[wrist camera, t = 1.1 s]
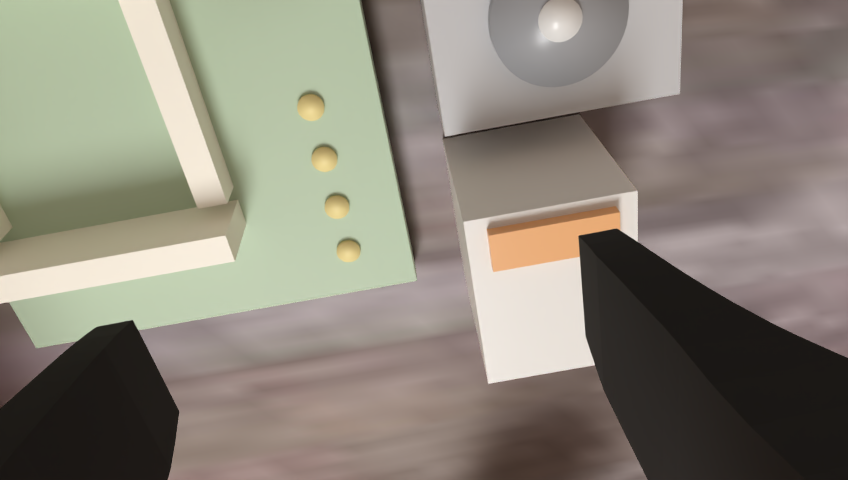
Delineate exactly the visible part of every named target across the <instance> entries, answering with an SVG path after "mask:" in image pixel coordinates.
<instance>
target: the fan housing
mask: <svg viewBox="0 0 848 480" xmlns="http://www.w3.org/2000/svg"><path fill="white" fill-rule="evenodd" d="M420 2H421V9H422V15H423V21H424V27H425V33H426V40H427V46H428V52H429V58H430V64H431V71H432V77H433V83H434V89H435V95H436V101H437V107H438V111H439V115H440V119H441V123H442V127H443V130H444V134H445V137H446V136H451V135H457V134H462V133H468V132H473V131H479V130H484V129H489V128H495V127H500V126H506V125H511V124H517V123H522V122H528V121H533V120H539V119H544V118H550V117H555V116H561V115H566V114H572V113H577V112H583V111H588V110H594V109H599V108H605V107H610V106H616V105H621V104H627V103H632V102H638V101H643V100H649V99H654V98H660V97H665V96H671V95H676V94H680V70H681V38H682V5H683V0H420Z"/></svg>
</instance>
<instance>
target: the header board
mask: <svg viewBox="0 0 848 480" xmlns="http://www.w3.org/2000/svg"><path fill="white" fill-rule="evenodd" d="M413 281H417V277H416V268H415V261H414V256H413V251H412V246H411V241H410V237H409V232H408V227H407V222H406V217H405V212H404V207H403V202H402V197H401V193H400V188H399V183H398V178H397V173H396V168H395V163H394V158H393V153H392V149H391V144H390V139H389V134H388V129H387V124H386V119H385V114H384V110H383V105H382V100H381V95H380V90H379V85H378V80H377V75H376V70H375V66H374V61H373V56H372V51H371V46H370V41H369V36H368V31H367V26H366V22H365V17H364V12H363V7H362V2H361V0H0V304H1V303H6V302H9V303H10V305H11V306H12V308H13V310H14V311H15V313H16V315H17V317H18V318H19V320H20V322H21V323H22V325H23V327H24V328H25V330H26V332H27V333H28V335H29V337H30V338H31V340H32V342H33V344H34V345H35V347H36V348H41V347H47V346H52V345H58V344H64V343H69V342H75V341H78V340H79V339H81V338H82V337H83V336H84V335H86V334H87V333H89V332H90V331H91V330H93V329H94V328H95V327H98V326H103V325H109V324H114V323H119V322H124V321H130V320H133V321H134V323H135V325H136V327H137V329H138V330H142V329H148V328H154V327H159V326H165V325H171V324H176V323H182V322H187V321H193V320H199V319H204V318H210V317H216V316H221V315H227V314H232V313H238V312H244V311H249V310H255V309H261V308H266V307H272V306H277V305H283V304H289V303H294V302H300V301H306V300H311V299H317V298H322V297H328V296H334V295H339V294H345V293H351V292H356V291H362V290H368V289H373V288H379V287H384V286H390V285H396V284H401V283H407V282H413Z"/></svg>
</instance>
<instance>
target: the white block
mask: <svg viewBox="0 0 848 480" xmlns="http://www.w3.org/2000/svg"><path fill="white" fill-rule="evenodd" d="M443 145H444V151H445V158H446V164H447V170H448V176H449V182H450V189H451V195H452V201H453V207H454V213H455V220H456V226H457V232H458V238H459V244H460V250H461V257H462V263H463V269H464V275H465V281H466V285H467V290H468V294H469V299H470V303H471V308H472V312H473V317H474V321H475V326H476V330H477V335H478V339H479V344H480V348H481V353H482V357H483V362H484V366H485V371H486V375H487V380H488V384H489V383H495V382H501V381H507V380H512V379H518V378H524V377H530V376H535V375H541V374H547V373H553V372H558V371H564V370H570V369H575V368H581V367H587V366H593V365H595V363H594V360H593V357H592V354H591V351H590V348H589V345H588V342H587V339H586V336H585V322H584V308H583V295H582V281H581V267H580V253H579V239H578V236H579V235H584V234H590V233H595V232H600V231H606V230H611V229H616V228H617V229H619V230H620V231H622V232H623V233H625V234H627V235H628V236H630V237H631V238H632V239H634V240H635V241H637V242H638V191H637V189H636V188H635V187H634V185H633V184H632V183H631V181H630V180H629V179H628V177H627V176H626V175H625V174H624V172H623V171H622V170H621V168H620V167H619V166H618V164H617V163H616V162H615V160H614V159H613V158H612V156H611V155H610V154H609V152H608V151H607V150H606V149H605V147H604V146H603V145H602V143H601V142H600V141H599V139H598V138H597V137H596V135H595V134H594V133H593V131H592V130H591V129H590V128H589V126H588V125H587V124H586V122H585V121H584V120H583V118H582V117H581V116H580V114H577V115H571V116H566V117H560V118H555V119H549V120H544V121H538V122H533V123H527V124H522V125H516V126H511V127H505V128H500V129H494V130H489V131H484V132H478V133H473V134H467V135H462V136H456V137H451V138H445V139H443Z"/></svg>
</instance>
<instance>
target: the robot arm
mask: <svg viewBox="0 0 848 480" xmlns="http://www.w3.org/2000/svg"><path fill="white" fill-rule="evenodd" d="M578 239H579V253H580V267H581V281H582V295H583V308H584V322H585V336H586V339H587V342H588V345H589V348H590V351H591V354H592V357H593V360H594V363H595V366H596V369H597V372H598V375H599V378H600V381H601V383H602V386H603V389H604V391H605V394H606V396H607V398H608V400H609V402H610V404H611V406H612V408H613V410H614V412H615V414H616V416H617V418H618V420H619V422H620V424H621V427H622V429H623V431H624V433H625V435H626V437H627V439H628V441H629V443H630V445H631V447H632V449H633V451H634V453H635V455H636V457H637V459H638V461H639V463H640V465H641V467H642V469H643V471H644V473H645V475H646V477H647V479H648V480H848V358H847V357H844V356H842V355H839V354H837V353H835V352H833V351H831V350H828V349H826V348H824V347H822V346H819V345H817V344H815V343H813V342H810V341H808V340H806V339H804V338H801V337H799V336H797V335H795V334H793V333H791V332H789V331H787V330H785V329H782V328H780V327H778V326H776V325H774V324H772V323H770V322H769V321H767V320H765V319H763V318H761V317H759V316H757V315H756V314H754V313H752V312H750V311H748V310H746V309H744V308H743V307H741V306H739V305H737V304H735V303H733V302H732V301H730V300H728V299H726V298H725V297H723V296H721V295H720V294H718V293H716V292H714V291H713V290H711V289H709V288H708V287H706V286H704V285H703V284H701V283H700V282H698V281H696V280H695V279H693V278H691V277H690V276H688V275H687V274H685V273H684V272H682V271H680V270H679V269H677V268H676V267H674V266H673V265H671V264H670V263H668V262H667V261H665V260H664V259H662V258H661V257H659V256H658V255H656V254H655V253H653V252H652V251H650V250H649V249H647V248H646V247H644V246H643V245H641V244H640V243H638V242H637V241H635V240H634V239H632V238H631V237H630V236H628V235H627V234H625V233H623V232H622V231H620V230H619V229H617V228H616V229H611V230H606V231H600V232H595V233H590V234H584V235H579V236H578ZM178 416H179V410H178V408H177V406H176V404H175V402H174V400H173V398H172V396H171V394H170V392H169V390H168V388H167V386H166V384H165V382H164V380H163V378H162V377H161V375H160V373H159V371H158V369H157V367H156V365H155V363H154V361H153V359H152V357H151V355H150V353H149V351H148V349H147V347H146V345H145V343H144V341H143V339H142V337H141V335H140V333H139V331H138V329H137V327H136V325H135V323H134V321H133V320H130V321H124V322H119V323H114V324H109V325H103V326H98V327H95V328H94V329H93V330H91V331H90V332H89V333H87V334H86V335H84V336H83V337H82V338H81V339H79V340H78V341H77V342H76V343H75V344H73V345H72V346H71V347H70V348H69V349H67V350H66V351H65V352H64V353H63V354H62V355H60V356H59V357H58V358H57V359H56V360H55V361H54V362H52V363H51V364H50V365H49V366H48V367H47V368H46V369H45V370H43V371H42V372H41V373H40V374H39V375H38V376H37V377H36V378H34V379H33V380H32V381H31V382H30V383H29V384H28V385H26V386H25V387H24V388H23V389H22V390H21V391H20V392H19V393H17V394H16V395H15V396H14V397H13V398H12V399H11V400H10V401H8V402H7V403H6V404H5V405H4V406H3V407H2V408H1V409H0V480H167V479H168V476H169V472H170V469H171V463H172V457H173V451H174V446H175V439H176V431H177V424H178Z"/></svg>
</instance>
